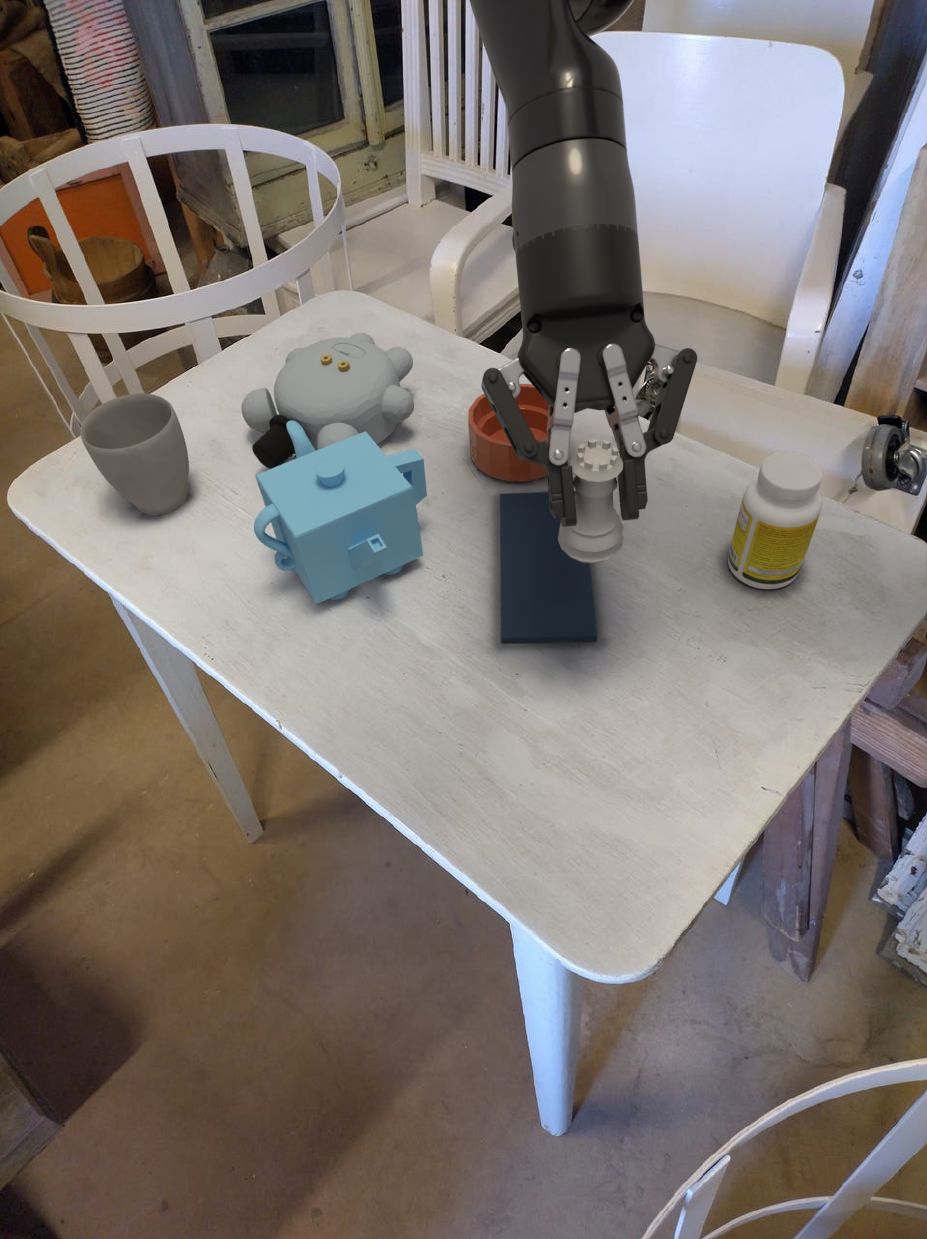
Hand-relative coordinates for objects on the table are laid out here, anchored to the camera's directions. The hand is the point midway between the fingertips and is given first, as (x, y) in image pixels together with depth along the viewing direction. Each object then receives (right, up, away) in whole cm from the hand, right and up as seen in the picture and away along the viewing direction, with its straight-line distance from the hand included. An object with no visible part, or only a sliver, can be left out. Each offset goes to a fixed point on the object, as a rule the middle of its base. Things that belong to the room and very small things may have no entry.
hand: (600, 521), depth 52 cm
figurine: (-23, +14, +37) cm, 46 cm away
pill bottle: (+18, -2, +21) cm, 28 cm away
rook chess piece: (0, -1, +5) cm, 5 cm away
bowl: (-3, +11, +33) cm, 35 cm away
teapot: (-19, 0, +25) cm, 32 cm away
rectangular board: (-1, -1, +23) cm, 23 cm away
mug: (-41, +7, +33) cm, 53 cm away
